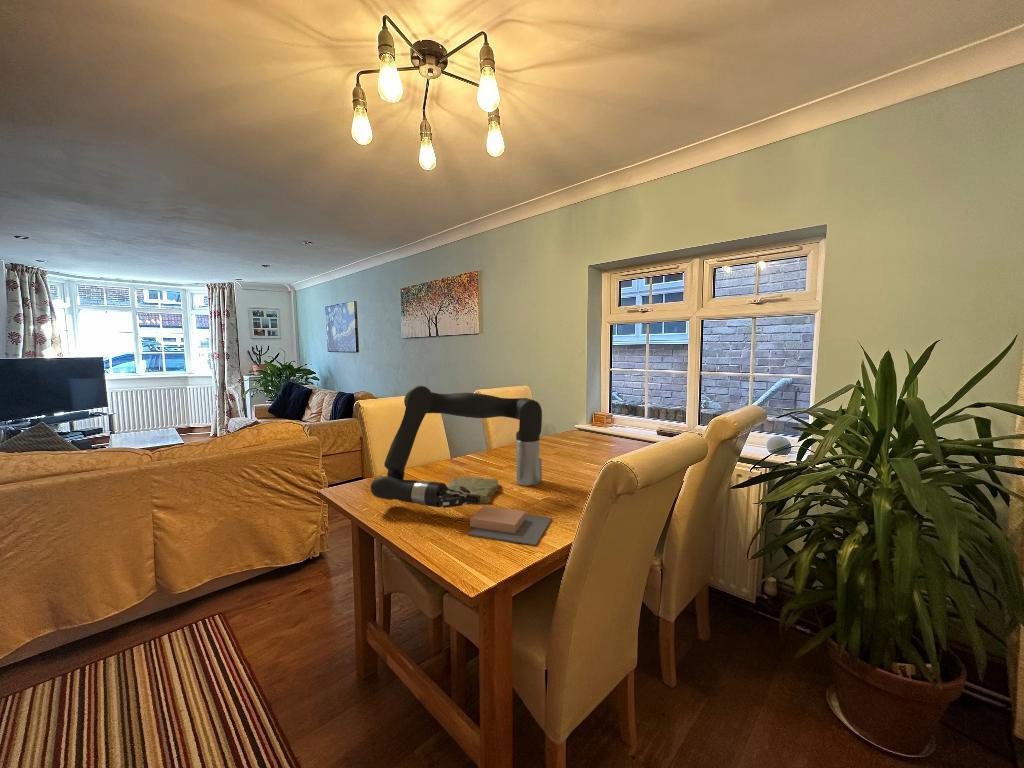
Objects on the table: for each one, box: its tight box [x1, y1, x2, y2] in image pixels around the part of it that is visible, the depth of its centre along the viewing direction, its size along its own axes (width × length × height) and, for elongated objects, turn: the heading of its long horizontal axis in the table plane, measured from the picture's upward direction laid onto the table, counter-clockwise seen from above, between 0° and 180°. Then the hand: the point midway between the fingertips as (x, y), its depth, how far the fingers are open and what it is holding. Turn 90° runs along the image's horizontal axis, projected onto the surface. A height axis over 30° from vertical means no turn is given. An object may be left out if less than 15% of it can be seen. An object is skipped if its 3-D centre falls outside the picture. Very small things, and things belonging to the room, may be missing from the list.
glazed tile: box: [469, 505, 527, 534], centre depth 121 cm, size 3×10×14 cm
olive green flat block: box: [446, 476, 500, 504], centre depth 148 cm, size 19×20×4 cm
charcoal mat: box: [467, 514, 553, 547], centre depth 119 cm, size 20×18×1 cm
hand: (479, 499), depth 122 cm, fingers closed
